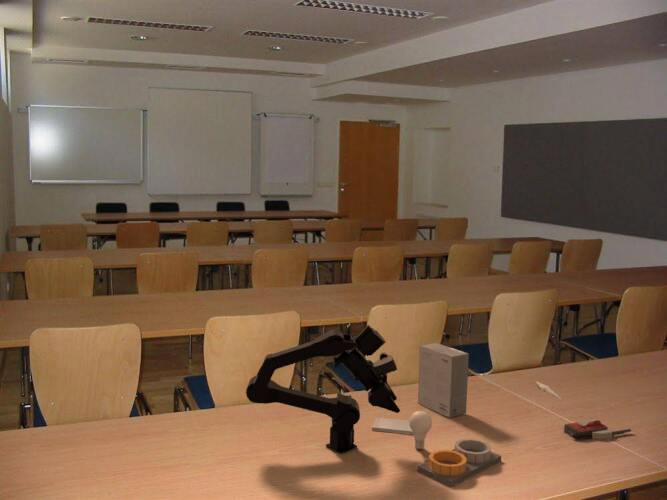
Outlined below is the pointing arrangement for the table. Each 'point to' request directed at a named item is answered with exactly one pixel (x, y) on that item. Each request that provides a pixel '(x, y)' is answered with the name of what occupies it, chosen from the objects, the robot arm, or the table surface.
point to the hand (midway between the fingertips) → (397, 405)
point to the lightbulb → (420, 427)
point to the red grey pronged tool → (590, 430)
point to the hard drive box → (443, 379)
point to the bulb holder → (459, 461)
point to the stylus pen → (547, 389)
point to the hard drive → (392, 426)
